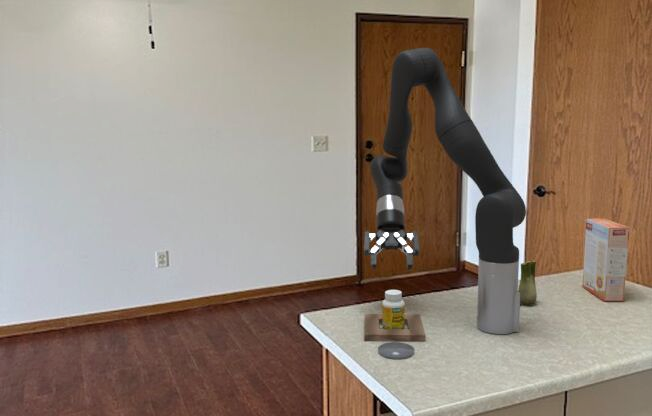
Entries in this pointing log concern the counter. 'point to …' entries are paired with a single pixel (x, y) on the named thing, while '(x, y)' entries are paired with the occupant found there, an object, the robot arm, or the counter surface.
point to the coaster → (396, 350)
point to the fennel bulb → (527, 283)
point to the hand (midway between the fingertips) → (392, 268)
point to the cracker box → (605, 259)
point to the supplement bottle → (393, 310)
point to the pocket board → (376, 334)
